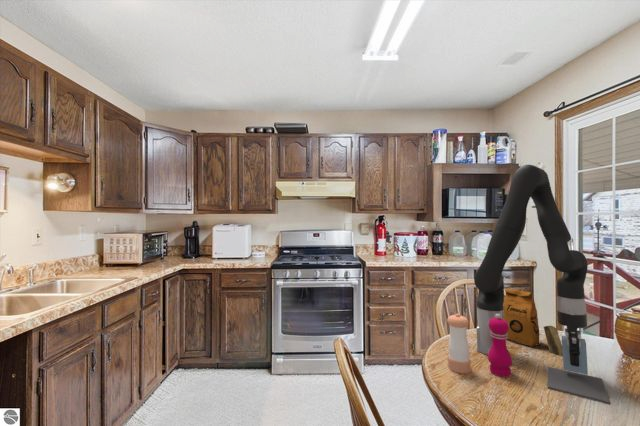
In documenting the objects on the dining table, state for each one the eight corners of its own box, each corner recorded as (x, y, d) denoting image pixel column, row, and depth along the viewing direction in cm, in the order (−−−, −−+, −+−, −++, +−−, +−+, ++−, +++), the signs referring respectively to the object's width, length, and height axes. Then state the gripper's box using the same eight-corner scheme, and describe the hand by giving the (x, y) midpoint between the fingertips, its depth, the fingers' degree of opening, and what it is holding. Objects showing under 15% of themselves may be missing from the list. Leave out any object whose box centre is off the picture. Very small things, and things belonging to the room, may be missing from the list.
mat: (547, 388, 93) (547, 386, 93) (547, 368, 105) (547, 366, 105) (609, 404, 84) (609, 402, 84) (602, 380, 97) (602, 378, 97)
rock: (549, 336, 128) (532, 336, 125) (563, 324, 124) (545, 323, 121) (571, 361, 119) (552, 361, 117) (586, 348, 115) (568, 348, 112)
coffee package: (531, 349, 121) (529, 294, 122) (500, 339, 132) (498, 289, 133) (544, 344, 126) (542, 291, 127) (513, 335, 137) (511, 286, 138)
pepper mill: (509, 369, 105) (507, 311, 106) (515, 379, 98) (513, 317, 99) (486, 366, 108) (484, 310, 108) (490, 375, 101) (488, 315, 102)
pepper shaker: (470, 365, 108) (468, 312, 109) (471, 375, 102) (469, 317, 102) (448, 362, 111) (446, 310, 112) (447, 370, 105) (446, 315, 105)
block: (563, 369, 99) (562, 339, 99) (563, 365, 102) (561, 335, 103) (587, 374, 95) (586, 343, 96) (586, 369, 99) (584, 339, 99)
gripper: (556, 304, 108) (559, 352, 107) (557, 313, 96) (560, 368, 96) (584, 307, 103) (587, 358, 102) (588, 317, 92) (592, 375, 91)
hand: (574, 362), depth 99 cm, fingers closed on block, 4 cm apart
